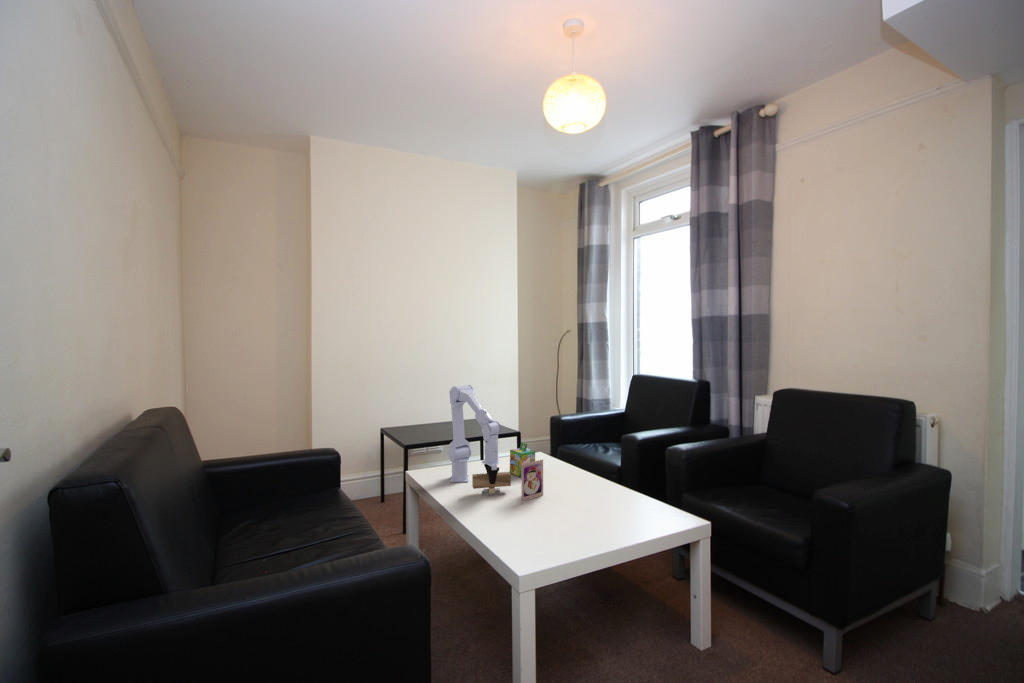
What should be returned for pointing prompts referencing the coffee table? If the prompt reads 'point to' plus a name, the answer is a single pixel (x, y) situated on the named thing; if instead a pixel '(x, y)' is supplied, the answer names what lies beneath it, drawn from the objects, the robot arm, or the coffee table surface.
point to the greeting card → (531, 479)
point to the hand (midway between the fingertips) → (491, 482)
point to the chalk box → (520, 458)
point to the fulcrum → (492, 491)
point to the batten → (483, 482)
